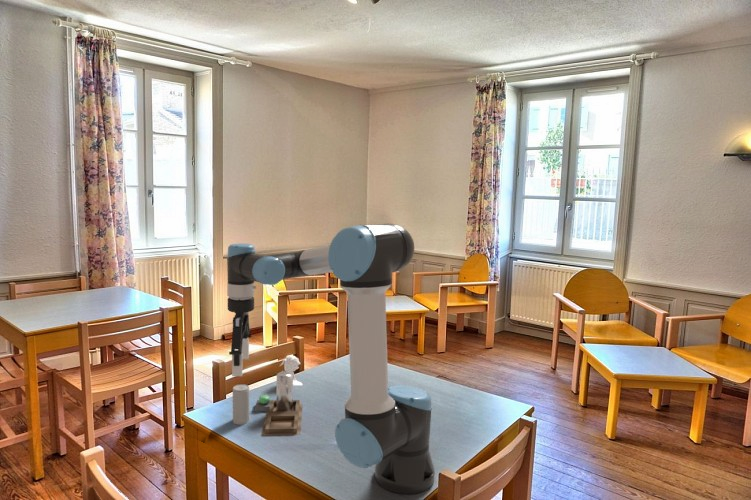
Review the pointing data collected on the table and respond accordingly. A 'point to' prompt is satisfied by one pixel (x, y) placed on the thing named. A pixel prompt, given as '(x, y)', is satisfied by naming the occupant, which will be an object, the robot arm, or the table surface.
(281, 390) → the billet
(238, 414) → the beverage can
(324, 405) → the table surface
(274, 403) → the pallet
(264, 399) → the button
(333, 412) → the table surface
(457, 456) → the table surface
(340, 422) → the robot arm
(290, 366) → the figurine
